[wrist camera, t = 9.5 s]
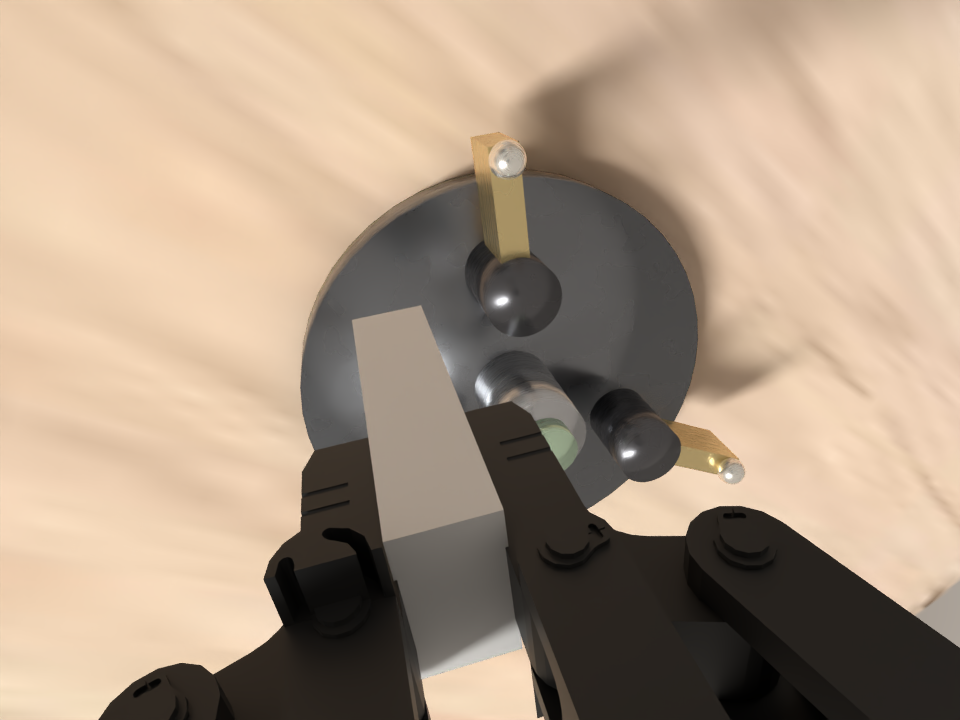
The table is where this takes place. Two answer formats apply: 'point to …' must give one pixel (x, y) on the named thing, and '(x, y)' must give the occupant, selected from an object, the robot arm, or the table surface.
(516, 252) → the knob
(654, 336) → the level base
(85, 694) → the table surface
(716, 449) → the knob
